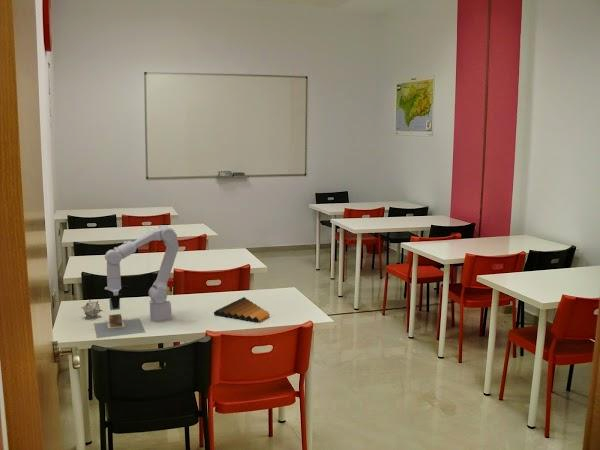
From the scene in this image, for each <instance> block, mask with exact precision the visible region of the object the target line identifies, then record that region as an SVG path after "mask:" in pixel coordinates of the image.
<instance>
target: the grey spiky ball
mask: <svg viewBox="0 0 600 450" xmlns="http://www.w3.org/2000/svg"><path fill="white" fill-rule="evenodd" d="M81 309H83V311H84V315H85V318H87V317H90V318H93V320H95V318H96V317H97V316H98V314H99V313H101V312H103V310H102V309H101V307H100V304H99V300H97V301H91V299H89V301H88V302H86V304H85V305H84V306H81ZM96 315H97V316H96Z"/></svg>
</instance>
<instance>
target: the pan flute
mask: <svg viewBox="0 0 600 450" xmlns="http://www.w3.org/2000/svg"><path fill="white" fill-rule="evenodd" d="M213 315H214V316H215V317H222V318H228V319H233V320H238V321H239V320H240V321H246V322H250V323H252V322H253V323H256V324H259V323H261V322H263V321H264V320H266V319H268V318H269V317H270V313H269V312H268V311H267V310H266V309H264V308H262V307H260V305H257V304H256V303H254V302H253V301H252V300H249V298H247V297H245V296H244V297H241V298H239V299H237V300H235V301H233V302H231V303H229V304H227V305H225V306H222V307H221V308H218V309H217V310H215V311H214V312H213Z"/></svg>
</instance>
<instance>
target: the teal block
mask: <svg viewBox="0 0 600 450" xmlns="http://www.w3.org/2000/svg"><path fill="white" fill-rule="evenodd" d="M108 302H109V310H110V311H117V310H118V311H119V310H120V309H121V301H119V307H118V308H117V309H113V306H112V302H111V299H110V298H109V301H108Z"/></svg>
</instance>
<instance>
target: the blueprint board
mask: <svg viewBox="0 0 600 450" xmlns="http://www.w3.org/2000/svg"><path fill="white" fill-rule="evenodd" d="M93 326H94V331H95V335H96V339H102V338H109V337H110V338H111V337H117V336H118V337H119V336H126V335H134V334H135V335H136V334H144V333H146V330H145V328H144V325H143V323H142V321H141V319H140V318H132V319H122V326H117V327H110V324H109V321H105V322H104V321H103V322H95V323H93Z"/></svg>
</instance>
